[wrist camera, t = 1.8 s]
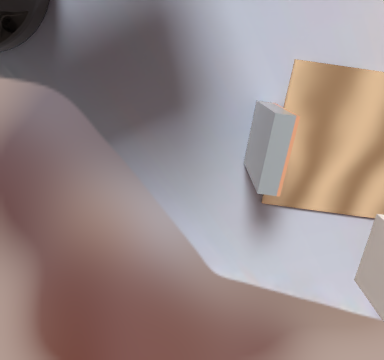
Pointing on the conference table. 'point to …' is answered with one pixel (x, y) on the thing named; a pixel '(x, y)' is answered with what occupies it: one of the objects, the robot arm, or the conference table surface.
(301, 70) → the mat
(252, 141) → the tile
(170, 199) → the conference table surface
